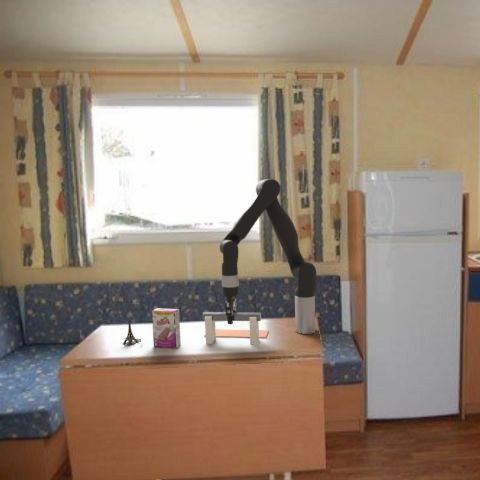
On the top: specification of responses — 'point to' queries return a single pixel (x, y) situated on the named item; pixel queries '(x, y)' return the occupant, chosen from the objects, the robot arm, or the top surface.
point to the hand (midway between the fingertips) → (231, 321)
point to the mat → (238, 333)
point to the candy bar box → (166, 328)
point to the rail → (236, 316)
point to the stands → (211, 331)
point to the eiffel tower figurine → (131, 337)
